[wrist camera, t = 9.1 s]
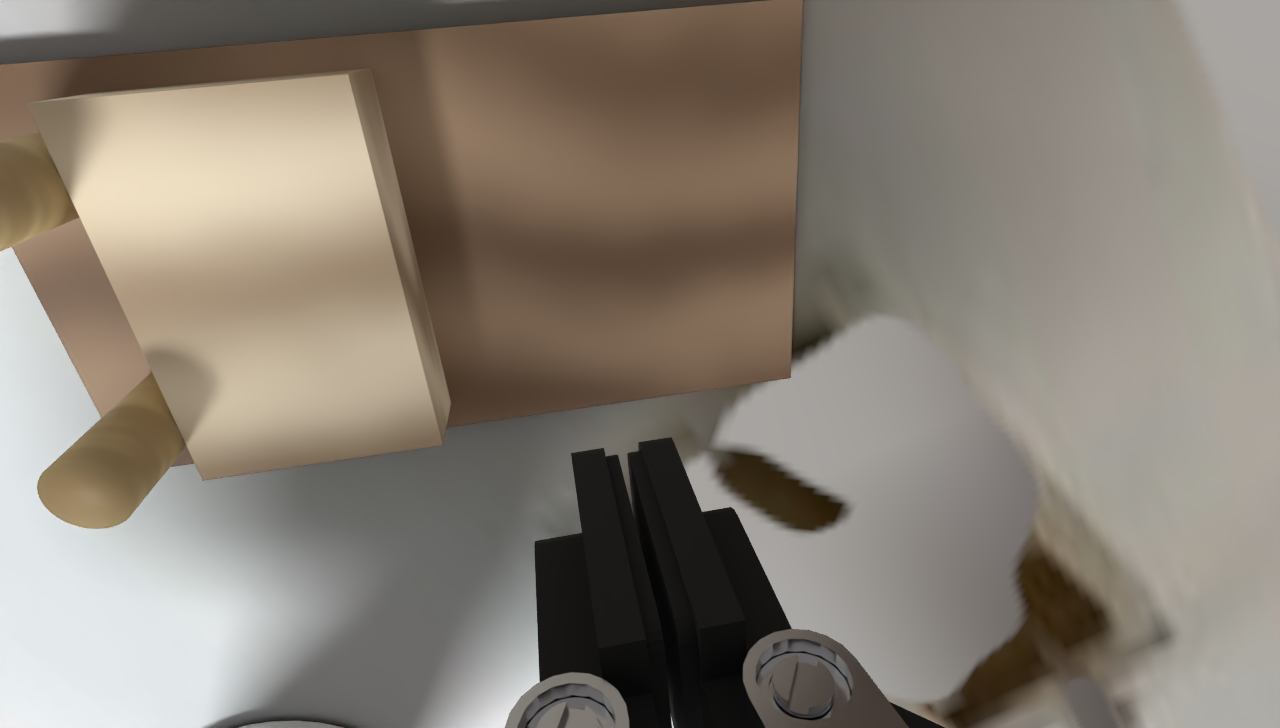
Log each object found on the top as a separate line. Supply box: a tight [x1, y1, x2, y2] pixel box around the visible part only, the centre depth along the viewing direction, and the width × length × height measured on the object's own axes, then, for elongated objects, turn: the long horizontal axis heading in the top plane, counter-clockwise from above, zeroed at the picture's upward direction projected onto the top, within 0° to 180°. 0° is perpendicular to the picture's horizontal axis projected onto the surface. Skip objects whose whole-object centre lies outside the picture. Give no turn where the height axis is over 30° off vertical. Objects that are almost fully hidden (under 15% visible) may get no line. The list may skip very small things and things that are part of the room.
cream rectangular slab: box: [26, 68, 451, 480], centre depth 22 cm, size 12×8×3 cm, turn 5°
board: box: [0, 0, 803, 529], centre depth 21 cm, size 14×26×7 cm, turn 95°
